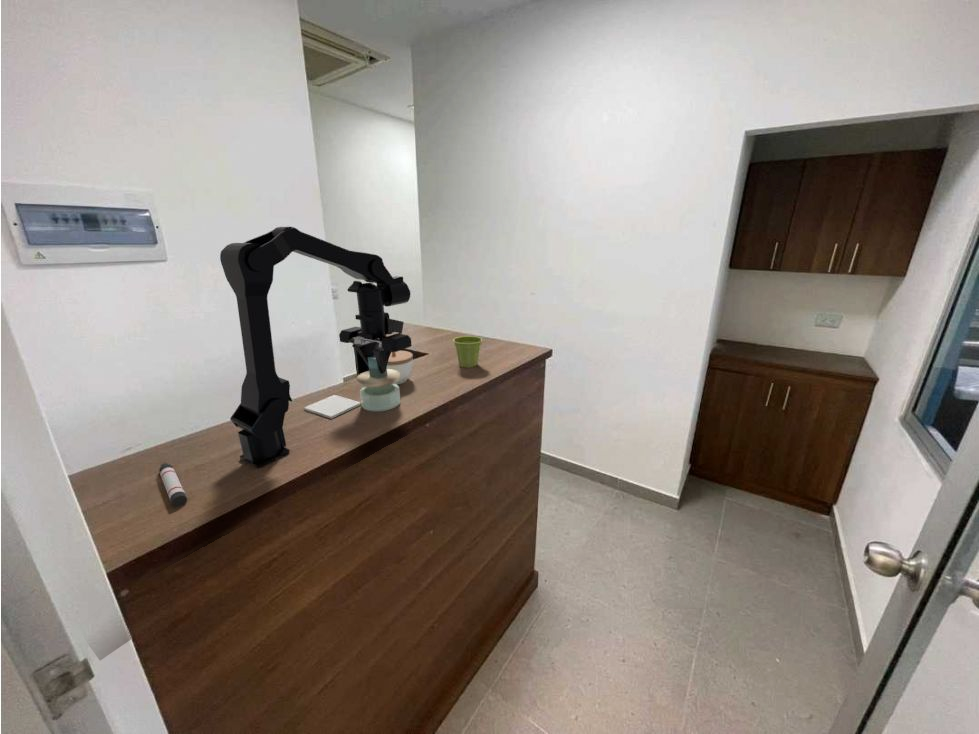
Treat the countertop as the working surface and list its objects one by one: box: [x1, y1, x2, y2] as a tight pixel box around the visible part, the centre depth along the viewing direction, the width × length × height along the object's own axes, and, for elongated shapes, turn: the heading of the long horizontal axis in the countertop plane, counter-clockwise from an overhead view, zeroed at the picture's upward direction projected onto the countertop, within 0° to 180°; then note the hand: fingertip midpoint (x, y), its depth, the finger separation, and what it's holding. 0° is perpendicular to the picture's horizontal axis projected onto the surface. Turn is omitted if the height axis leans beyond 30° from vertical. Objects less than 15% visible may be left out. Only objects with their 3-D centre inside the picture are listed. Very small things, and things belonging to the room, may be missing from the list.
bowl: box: [359, 384, 401, 413], centre depth 97 cm, size 9×9×4 cm
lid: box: [356, 355, 400, 388], centre depth 95 cm, size 10×10×6 cm
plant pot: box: [452, 335, 483, 369], centre depth 124 cm, size 9×9×9 cm
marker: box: [158, 462, 188, 508], centre depth 66 cm, size 15×2×2 cm, turn 46°
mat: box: [303, 394, 362, 420], centre depth 96 cm, size 9×10×1 cm
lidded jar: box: [387, 350, 414, 385], centre depth 111 cm, size 11×11×9 cm
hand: (378, 371), depth 95 cm, fingers closed on lid, 3 cm apart
